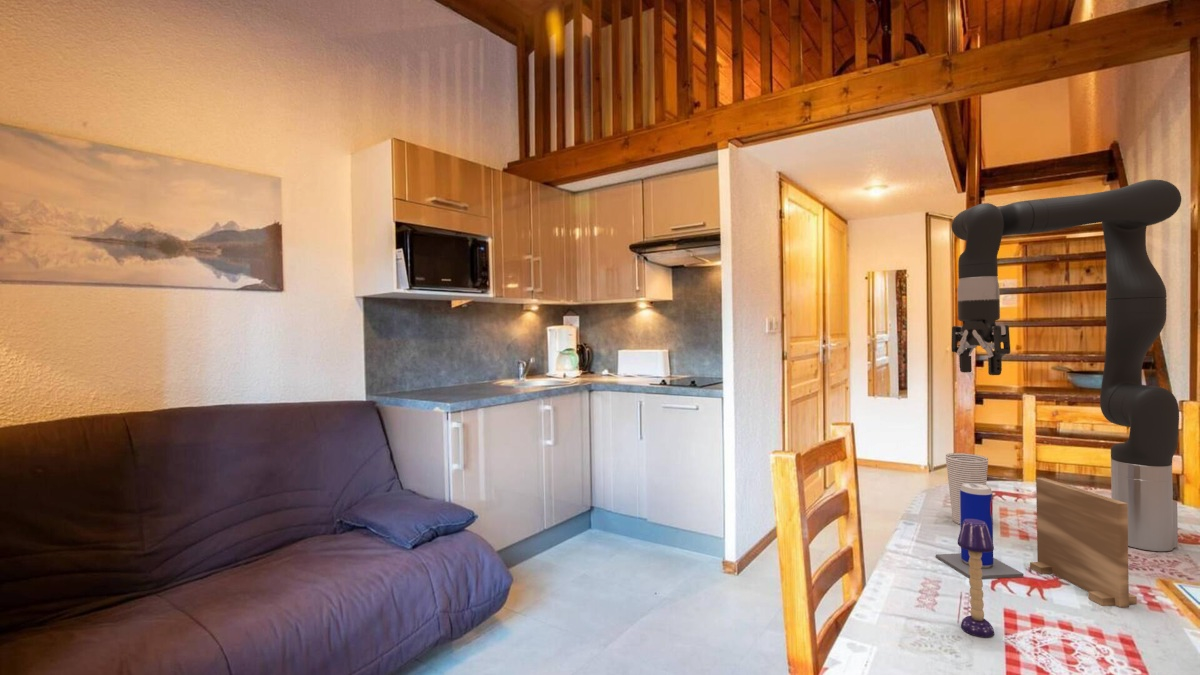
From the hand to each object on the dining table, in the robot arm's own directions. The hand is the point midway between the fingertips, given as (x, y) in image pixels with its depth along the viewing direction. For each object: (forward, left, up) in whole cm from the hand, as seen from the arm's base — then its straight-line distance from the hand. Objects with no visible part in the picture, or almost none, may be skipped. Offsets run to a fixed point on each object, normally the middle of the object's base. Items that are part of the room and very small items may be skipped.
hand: (979, 373), depth 120 cm
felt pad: (+11, +13, -36) cm, 40 cm away
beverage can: (+11, +13, -36) cm, 39 cm away
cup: (-4, -10, -36) cm, 38 cm away
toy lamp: (+27, +34, -36) cm, 57 cm away
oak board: (-1, +22, -36) cm, 42 cm away
